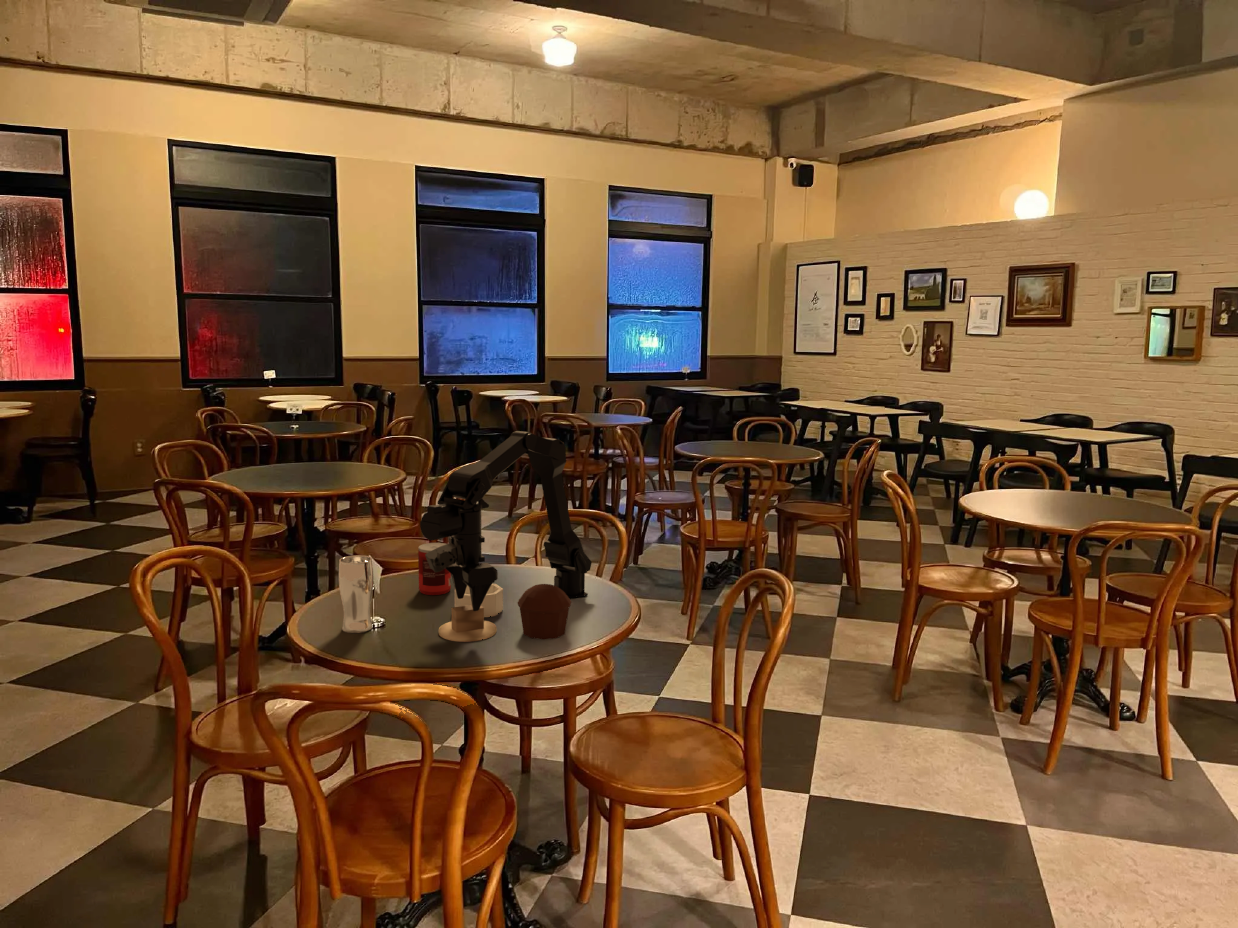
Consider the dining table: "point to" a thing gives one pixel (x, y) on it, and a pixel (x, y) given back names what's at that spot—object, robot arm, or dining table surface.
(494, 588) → the hollow octagonal cup
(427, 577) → the canned food
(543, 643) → the dining table surface
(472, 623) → the lid
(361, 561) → the beer glass
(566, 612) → the muffin
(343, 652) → the dining table surface
